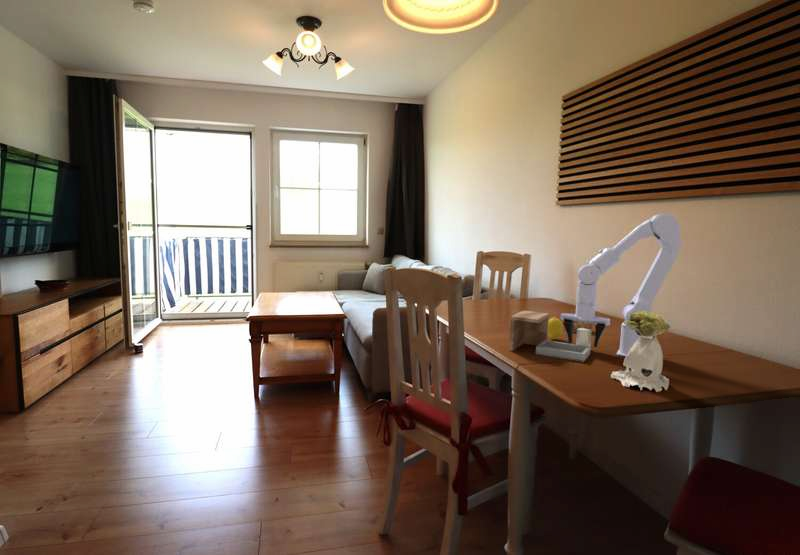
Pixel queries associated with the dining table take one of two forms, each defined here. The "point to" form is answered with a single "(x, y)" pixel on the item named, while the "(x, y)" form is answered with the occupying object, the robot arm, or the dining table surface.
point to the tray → (563, 350)
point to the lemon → (555, 328)
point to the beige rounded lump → (583, 337)
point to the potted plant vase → (644, 353)
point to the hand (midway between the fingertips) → (582, 344)
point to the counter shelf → (528, 328)
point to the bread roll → (580, 326)
